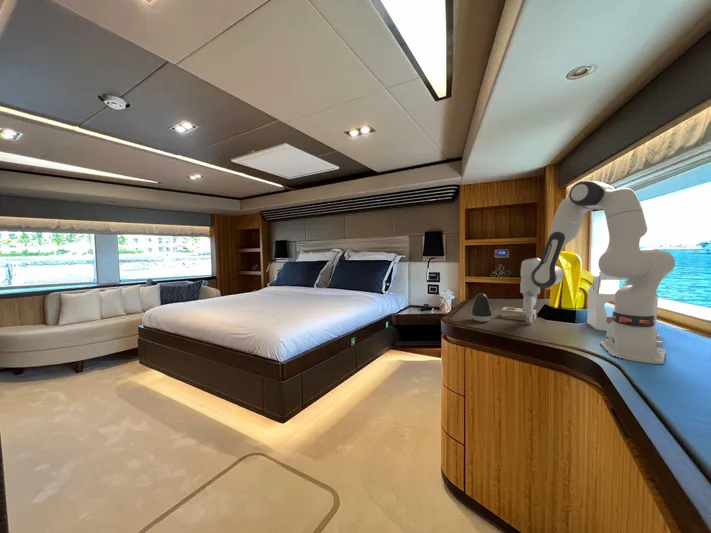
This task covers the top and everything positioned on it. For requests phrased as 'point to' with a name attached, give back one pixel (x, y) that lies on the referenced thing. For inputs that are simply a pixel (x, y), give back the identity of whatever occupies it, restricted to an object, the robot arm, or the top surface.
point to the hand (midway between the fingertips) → (529, 316)
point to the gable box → (599, 298)
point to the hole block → (515, 313)
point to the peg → (530, 319)
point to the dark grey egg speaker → (481, 308)
